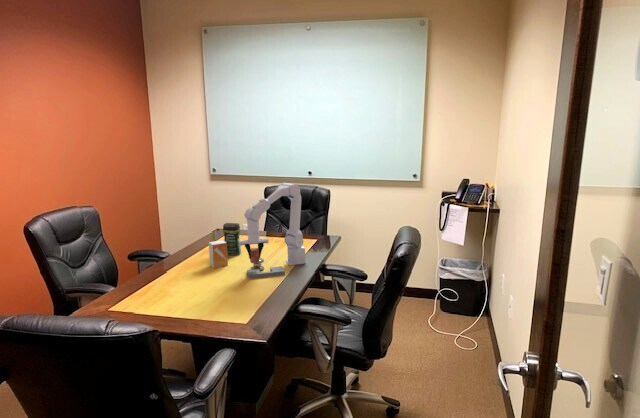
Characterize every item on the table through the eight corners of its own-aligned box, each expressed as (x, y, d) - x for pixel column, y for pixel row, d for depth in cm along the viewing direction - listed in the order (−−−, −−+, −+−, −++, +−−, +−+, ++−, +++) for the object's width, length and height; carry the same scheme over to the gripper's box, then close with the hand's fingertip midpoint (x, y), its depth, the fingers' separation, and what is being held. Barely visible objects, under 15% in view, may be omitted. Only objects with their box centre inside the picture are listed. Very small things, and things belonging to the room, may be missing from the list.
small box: (213, 268, 226) (212, 244, 223) (209, 265, 231) (208, 242, 229) (228, 265, 230) (227, 242, 228) (224, 262, 235) (222, 239, 233)
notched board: (281, 269, 223) (281, 266, 222) (284, 274, 215) (284, 271, 215) (247, 273, 218) (246, 269, 217) (249, 278, 210) (248, 275, 210)
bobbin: (263, 266, 228) (262, 257, 227) (265, 270, 222) (264, 261, 221) (249, 267, 226) (249, 258, 225) (251, 272, 220) (251, 262, 219)
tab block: (258, 259, 219) (257, 247, 218) (259, 261, 215) (258, 250, 214) (250, 259, 218) (249, 248, 217) (251, 262, 214) (250, 250, 213)
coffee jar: (222, 255, 248) (220, 224, 244) (227, 251, 256) (225, 221, 252) (238, 256, 246) (236, 225, 243) (242, 252, 254) (241, 221, 250)
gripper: (266, 228, 219) (267, 254, 222) (238, 231, 215) (239, 256, 218) (268, 232, 212) (269, 258, 215) (239, 234, 209) (240, 261, 211)
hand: (254, 257), depth 216 cm, fingers closed on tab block, 4 cm apart
